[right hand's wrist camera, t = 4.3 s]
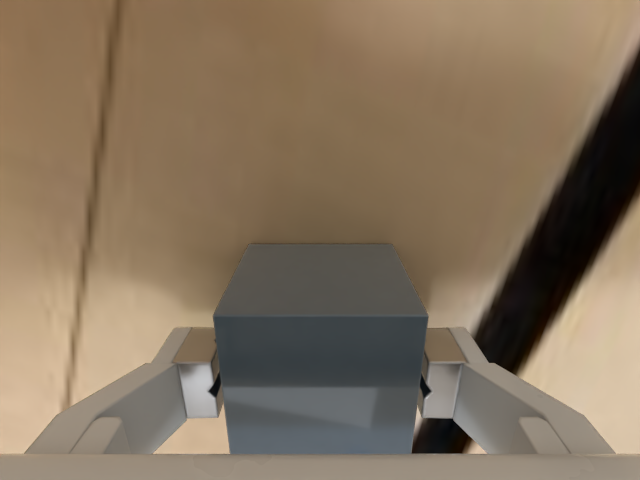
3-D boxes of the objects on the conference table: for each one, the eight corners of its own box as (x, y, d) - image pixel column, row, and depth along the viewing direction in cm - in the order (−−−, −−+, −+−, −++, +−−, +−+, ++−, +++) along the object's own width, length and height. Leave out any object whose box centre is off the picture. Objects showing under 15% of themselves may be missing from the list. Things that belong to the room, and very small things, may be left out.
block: (392, 243, 11) (429, 315, 8) (382, 373, 13) (407, 484, 9) (247, 243, 11) (211, 315, 8) (258, 373, 13) (233, 484, 9)
